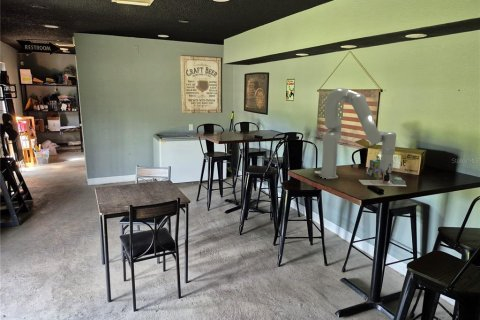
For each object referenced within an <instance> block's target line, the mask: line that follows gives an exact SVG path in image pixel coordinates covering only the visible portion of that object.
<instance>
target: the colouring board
mask: <svg viewBox="0 0 480 320" xmlns="http://www.w3.org/2000/svg"><path fill="white" fill-rule="evenodd" d="M358 181H359V182H360V183H361V185H364V186H390V187H392V186H393V187H396V186H397V187H407V185H406V181H405V180H404V179H402V182H401V181H394V178H389V181H388V183H384V182H383V180H378V179H376V180H373V179H370V180H369V179H358Z"/></svg>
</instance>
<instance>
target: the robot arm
mask: <svg viewBox="0 0 480 320" xmlns="http://www.w3.org/2000/svg"><path fill="white" fill-rule="evenodd" d="M340 102H343V103H346V104H349V105H351V106H352V108H353V110H354V112H355V114H356V115H357V118H358V120H359V123H360V125H361V127H362V129H363V132H364V134H365V136H366V138H367V140H368V141H369V143H370V144H373V145H377V144H380V143H381V153H380V154H381V156H380V160H381V161H380V168H381V169H382V178H381V181H383V170H384V171H385V175H384V181H390V179H391V173H392V171H393V168H394V167H393V166H394V156H395V154H396V153H395V152H396V143H397V133H396V132H393V131H382V130H381V131H380V130H379V129H378V128H377V125H376V124H375V123H376V122H375V120H374V113H373V112H372V110H371V108H370V106H369V105H368V104H369V103H368V102H367V98H366V95H364V94H363V93H359V92H356V91H353V90H350V89H348V88H343V87H338V88H335V89H333V90H331V91H330V92H329V93H328V94H327V96H326V98H325V103H324V104H325V105H324V106H325V107H324V126H325V128H326V129H327V132H325V133H324V134H323V136H322V157H321V158H322V159H321V160H322V162H321V169H320V170H314V175H315V174H316V175H318V177H319V176H320V177H322V178H321V179H324V178H326V179H325V180H333V179H337V178H338V177H339V176H338V175H337V163H338V161H337V159H338V143H339V142H341V139H342V118H341V116H340V115H339V103H340ZM387 169H388V170H387ZM386 171H388V172H387V173H386ZM320 177H319V178H320Z"/></svg>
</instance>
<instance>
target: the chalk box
mask: <svg viewBox="0 0 480 320" xmlns="http://www.w3.org/2000/svg"><path fill="white" fill-rule="evenodd" d="M380 161H381V157H380V156H378V155H376V159H370V160H369V170H368V176H370V177H372V178H376V179H377V178H381V179H382V169H381V168H380Z"/></svg>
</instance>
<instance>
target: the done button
mask: <svg viewBox="0 0 480 320" xmlns="http://www.w3.org/2000/svg"><path fill="white" fill-rule="evenodd" d="M393 179H394V181H401V182H402V180H403V179H402V177H400V176H399V177H397V176H395V177H394V178H393Z"/></svg>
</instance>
